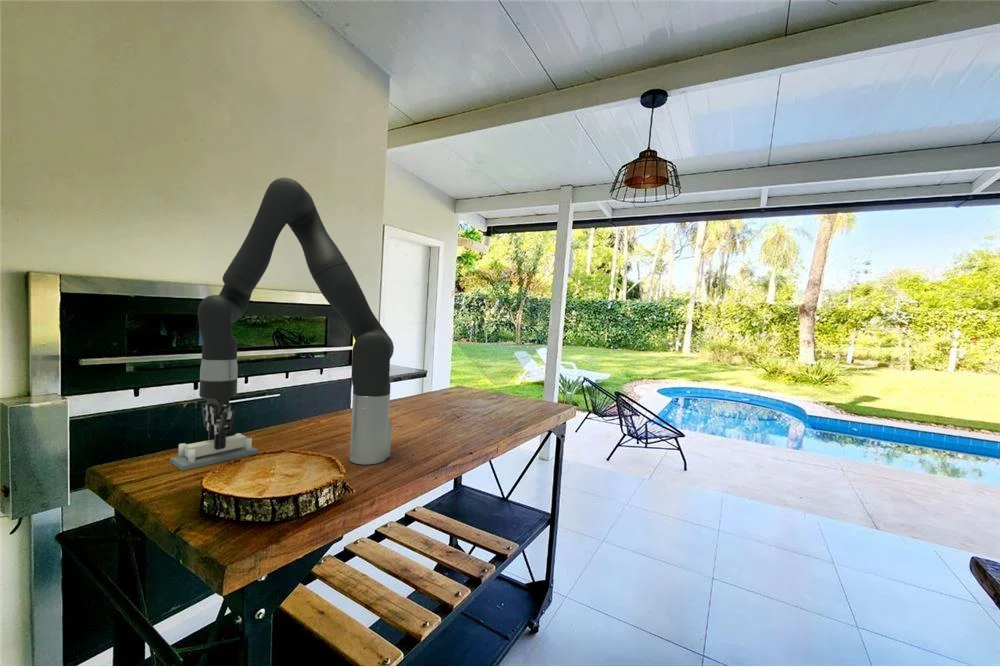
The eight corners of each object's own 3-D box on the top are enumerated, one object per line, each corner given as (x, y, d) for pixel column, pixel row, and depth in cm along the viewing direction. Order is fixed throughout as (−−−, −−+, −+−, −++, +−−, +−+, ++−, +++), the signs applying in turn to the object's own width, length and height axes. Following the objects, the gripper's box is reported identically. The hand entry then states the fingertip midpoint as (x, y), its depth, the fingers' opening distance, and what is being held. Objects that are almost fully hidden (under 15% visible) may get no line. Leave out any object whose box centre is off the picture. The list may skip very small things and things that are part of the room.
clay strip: (240, 443, 104) (240, 434, 104) (246, 446, 103) (246, 436, 103) (184, 455, 95) (184, 444, 94) (189, 458, 93) (189, 447, 93)
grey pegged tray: (244, 446, 107) (244, 431, 107) (258, 453, 103) (258, 438, 103) (170, 462, 94) (170, 445, 94) (182, 470, 90) (182, 453, 90)
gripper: (249, 379, 97) (246, 450, 98) (223, 372, 105) (221, 437, 106) (213, 382, 91) (210, 458, 92) (189, 374, 99) (187, 444, 99)
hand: (216, 446), depth 99 cm, fingers closed on clay strip, 3 cm apart
